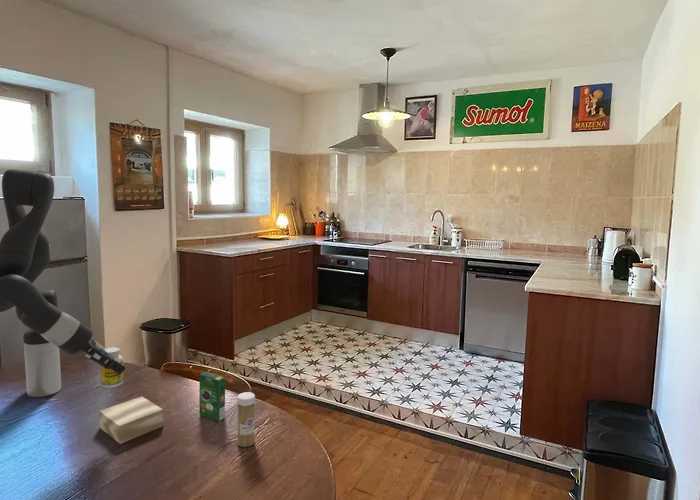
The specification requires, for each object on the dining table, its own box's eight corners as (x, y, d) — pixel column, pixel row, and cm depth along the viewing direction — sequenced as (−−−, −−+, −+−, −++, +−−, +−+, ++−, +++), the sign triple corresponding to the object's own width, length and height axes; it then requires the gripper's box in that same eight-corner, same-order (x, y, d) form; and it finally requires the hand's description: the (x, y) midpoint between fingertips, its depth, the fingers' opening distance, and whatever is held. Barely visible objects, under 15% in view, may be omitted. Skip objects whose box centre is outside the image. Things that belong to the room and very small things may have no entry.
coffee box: (226, 418, 132) (226, 376, 130) (219, 423, 130) (219, 379, 128) (206, 412, 136) (205, 370, 134) (198, 416, 133) (198, 373, 131)
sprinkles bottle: (245, 449, 117) (245, 400, 115) (233, 443, 119) (233, 395, 118) (258, 441, 121) (258, 394, 119) (246, 436, 123) (246, 389, 121)
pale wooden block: (99, 427, 125) (99, 410, 124) (142, 412, 134) (141, 396, 134) (120, 443, 118) (119, 426, 117) (163, 426, 127) (163, 409, 126)
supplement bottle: (122, 378, 125) (121, 345, 124) (124, 385, 121) (123, 351, 120) (100, 381, 123) (99, 348, 121) (102, 389, 118) (100, 354, 117)
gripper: (84, 328, 109) (137, 364, 118) (73, 314, 120) (123, 348, 129) (59, 353, 106) (116, 388, 116) (50, 337, 117) (103, 370, 127)
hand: (119, 367), depth 122 cm, fingers closed on supplement bottle, 5 cm apart
